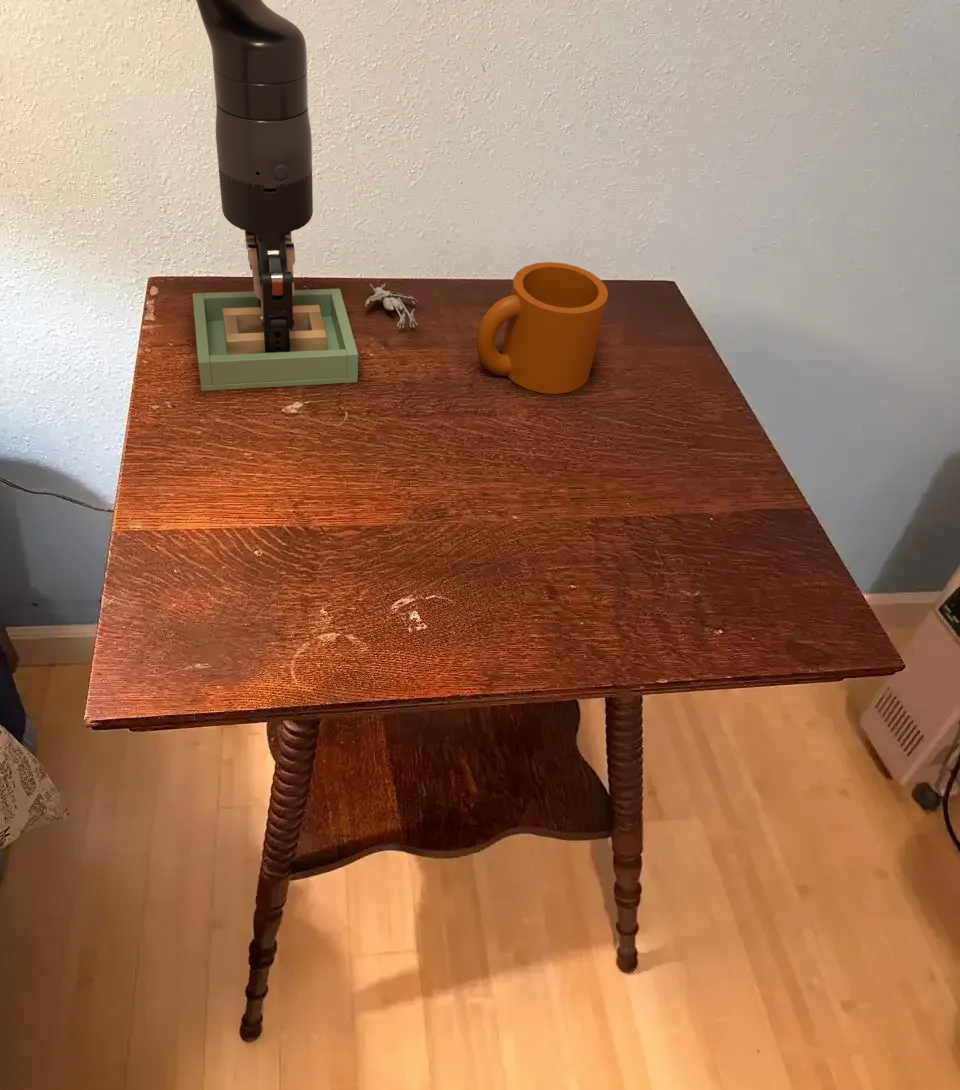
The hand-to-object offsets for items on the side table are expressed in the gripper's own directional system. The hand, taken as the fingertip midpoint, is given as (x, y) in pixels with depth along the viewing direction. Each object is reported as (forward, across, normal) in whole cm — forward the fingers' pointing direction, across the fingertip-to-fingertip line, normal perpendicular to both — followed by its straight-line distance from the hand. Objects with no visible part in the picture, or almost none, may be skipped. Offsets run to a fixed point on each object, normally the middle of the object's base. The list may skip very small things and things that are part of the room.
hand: (274, 338), depth 89 cm
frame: (+1, 0, 0) cm, 1 cm away
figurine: (+2, -5, +14) cm, 15 cm away
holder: (+1, 0, 0) cm, 1 cm away
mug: (+2, +5, +24) cm, 25 cm away
